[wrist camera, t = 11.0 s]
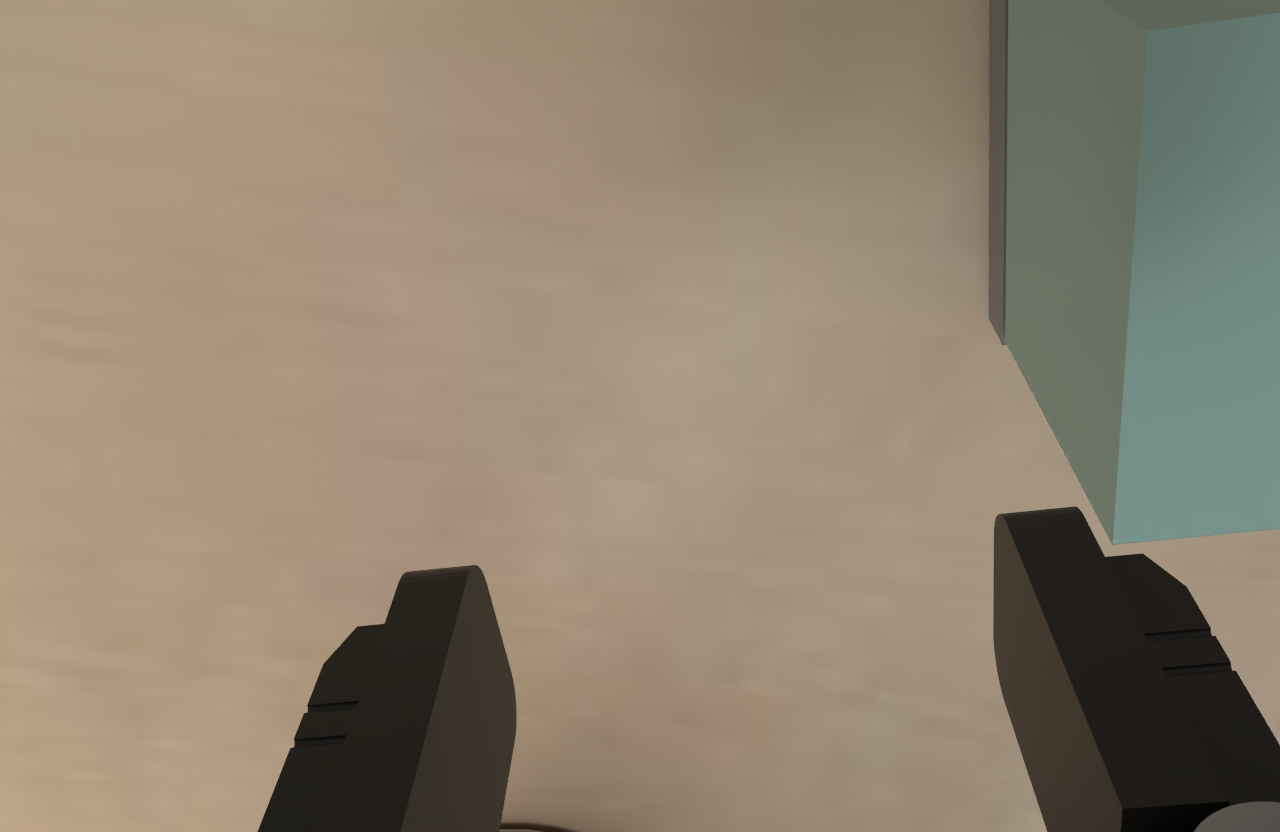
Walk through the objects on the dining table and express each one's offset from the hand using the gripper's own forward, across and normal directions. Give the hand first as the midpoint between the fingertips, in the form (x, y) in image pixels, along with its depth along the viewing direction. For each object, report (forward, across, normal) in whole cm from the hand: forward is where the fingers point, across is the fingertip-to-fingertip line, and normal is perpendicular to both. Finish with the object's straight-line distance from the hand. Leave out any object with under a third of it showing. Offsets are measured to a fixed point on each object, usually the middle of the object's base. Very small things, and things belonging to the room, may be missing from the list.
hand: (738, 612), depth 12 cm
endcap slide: (+12, -8, 0) cm, 15 cm away
